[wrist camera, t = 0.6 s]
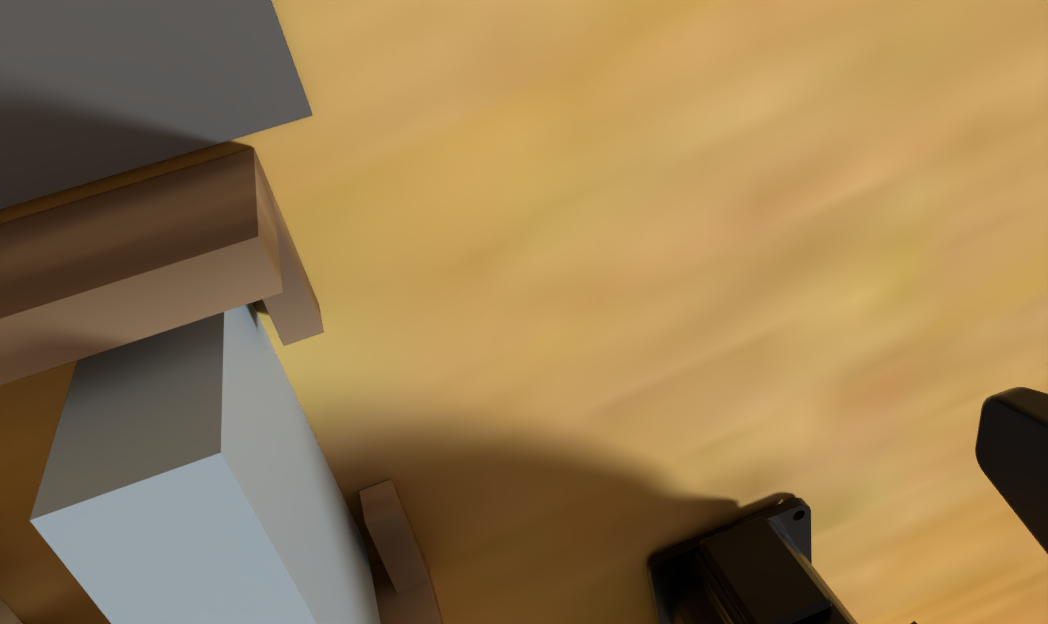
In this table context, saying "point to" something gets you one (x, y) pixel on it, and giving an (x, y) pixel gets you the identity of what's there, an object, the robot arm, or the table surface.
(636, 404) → the table surface
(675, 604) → the robot arm
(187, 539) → the block
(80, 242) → the rack
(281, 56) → the mat
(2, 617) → the offcut stack
